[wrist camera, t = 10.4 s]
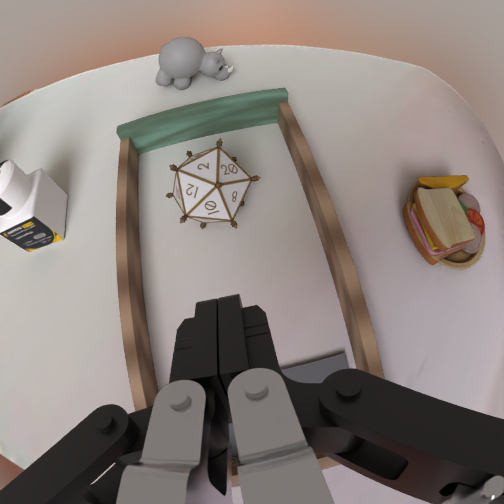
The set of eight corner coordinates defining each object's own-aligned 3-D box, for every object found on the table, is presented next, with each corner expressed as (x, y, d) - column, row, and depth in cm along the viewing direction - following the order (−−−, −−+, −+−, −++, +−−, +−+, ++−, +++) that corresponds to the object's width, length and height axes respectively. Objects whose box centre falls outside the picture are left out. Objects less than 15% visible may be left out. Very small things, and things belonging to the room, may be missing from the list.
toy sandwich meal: (490, 265, 27) (512, 251, 23) (413, 280, 27) (434, 267, 23) (460, 181, 32) (476, 162, 27) (384, 181, 32) (397, 158, 27)
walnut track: (382, 434, 22) (402, 447, 17) (169, 477, 21) (152, 495, 16) (284, 115, 36) (285, 87, 31) (130, 150, 35) (117, 126, 31)
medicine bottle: (29, 253, 31) (-30, 215, 19) (34, 210, 33) (-15, 167, 22) (65, 240, 31) (5, 193, 20) (68, 194, 33) (20, 143, 22)
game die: (223, 207, 35) (241, 129, 30) (257, 248, 30) (286, 157, 24) (152, 212, 31) (162, 124, 25) (173, 259, 25) (188, 151, 20)
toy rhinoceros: (221, 104, 41) (237, 64, 33) (149, 88, 38) (155, 46, 30) (227, 79, 43) (243, 42, 36) (162, 65, 40) (169, 26, 32)
